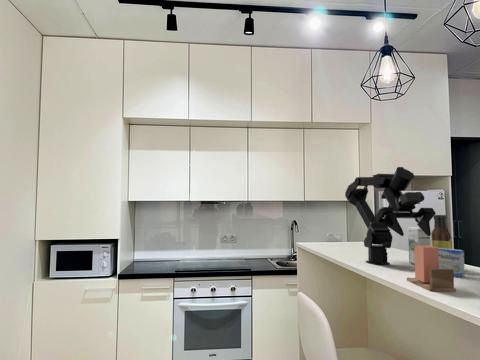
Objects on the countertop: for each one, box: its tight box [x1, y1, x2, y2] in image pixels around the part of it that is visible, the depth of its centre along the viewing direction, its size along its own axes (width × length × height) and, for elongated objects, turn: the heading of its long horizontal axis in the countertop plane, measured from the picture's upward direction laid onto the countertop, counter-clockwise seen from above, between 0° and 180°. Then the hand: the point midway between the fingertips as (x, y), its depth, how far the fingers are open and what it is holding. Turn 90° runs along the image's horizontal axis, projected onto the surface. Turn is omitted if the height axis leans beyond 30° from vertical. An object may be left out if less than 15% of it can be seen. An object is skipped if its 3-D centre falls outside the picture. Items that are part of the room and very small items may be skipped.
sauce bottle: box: [430, 214, 453, 249], centre depth 113 cm, size 6×6×20 cm
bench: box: [406, 269, 457, 293], centre depth 90 cm, size 12×7×6 cm, turn 1°
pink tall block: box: [414, 245, 439, 283], centre depth 91 cm, size 4×4×10 cm
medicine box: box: [438, 248, 466, 278], centre depth 104 cm, size 8×4×9 cm, turn 47°
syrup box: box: [407, 226, 432, 265], centre depth 122 cm, size 6×6×14 cm
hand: (416, 235), depth 99 cm, fingers open, 9 cm apart
